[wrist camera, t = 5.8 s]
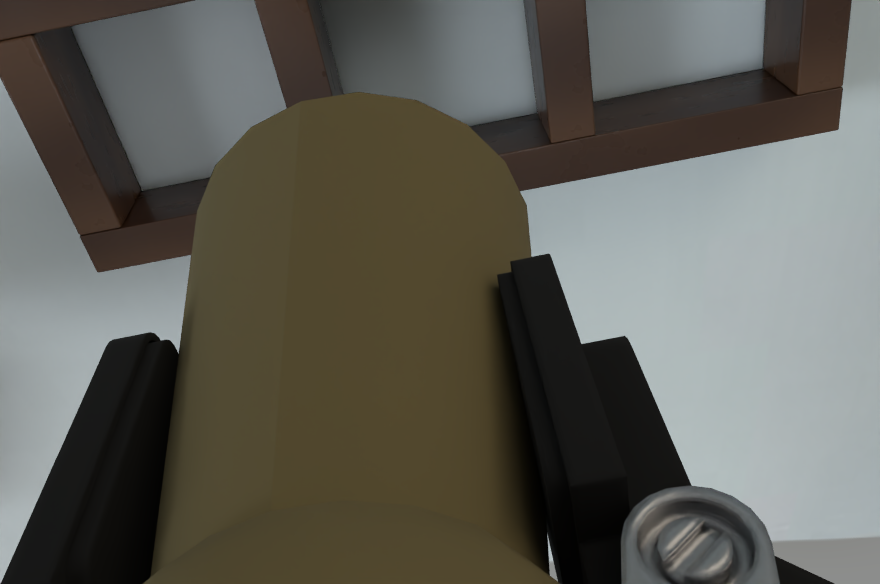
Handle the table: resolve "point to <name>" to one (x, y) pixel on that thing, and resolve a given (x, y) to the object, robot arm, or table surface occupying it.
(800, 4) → the holder
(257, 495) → the olive pawn
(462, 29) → the table surface
